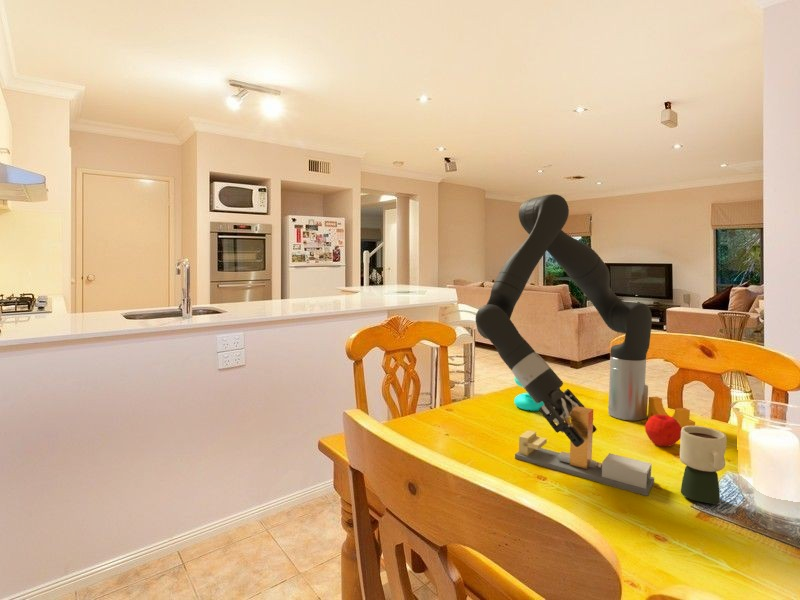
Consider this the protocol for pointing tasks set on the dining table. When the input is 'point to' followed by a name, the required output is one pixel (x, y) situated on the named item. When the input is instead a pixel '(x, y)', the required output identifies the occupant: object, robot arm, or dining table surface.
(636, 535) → the dining table surface
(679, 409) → the pipe clamp
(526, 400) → the donuts
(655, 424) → the apple
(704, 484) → the mug on green stand
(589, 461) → the orange-brown upright block
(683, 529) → the dining table surface
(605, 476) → the board
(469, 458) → the dining table surface
